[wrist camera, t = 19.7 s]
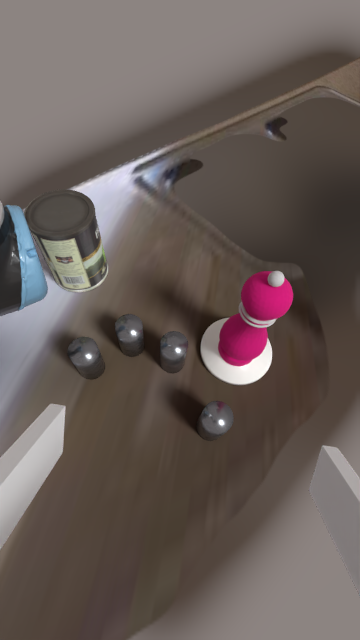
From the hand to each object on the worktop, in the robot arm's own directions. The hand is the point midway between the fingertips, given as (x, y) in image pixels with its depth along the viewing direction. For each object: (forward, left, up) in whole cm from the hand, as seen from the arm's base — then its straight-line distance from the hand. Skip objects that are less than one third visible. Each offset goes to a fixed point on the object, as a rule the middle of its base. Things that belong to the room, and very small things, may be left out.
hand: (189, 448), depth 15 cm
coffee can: (-38, -4, -30) cm, 49 cm away
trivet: (-13, +17, -29) cm, 36 cm away
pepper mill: (-13, +17, -29) cm, 36 cm away
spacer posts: (-12, 0, -29) cm, 32 cm away
